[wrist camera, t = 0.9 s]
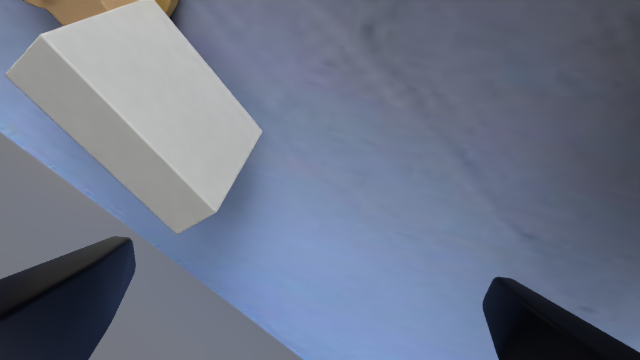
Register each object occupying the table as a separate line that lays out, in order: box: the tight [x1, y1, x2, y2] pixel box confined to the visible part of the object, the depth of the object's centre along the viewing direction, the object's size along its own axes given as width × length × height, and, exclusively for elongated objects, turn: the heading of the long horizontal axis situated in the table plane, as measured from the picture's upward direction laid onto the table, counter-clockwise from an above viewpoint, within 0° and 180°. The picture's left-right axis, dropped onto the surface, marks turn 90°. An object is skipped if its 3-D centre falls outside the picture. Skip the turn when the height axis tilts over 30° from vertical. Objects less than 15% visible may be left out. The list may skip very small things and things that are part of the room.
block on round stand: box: [5, 0, 263, 234], centre depth 16 cm, size 13×4×7 cm, turn 36°
